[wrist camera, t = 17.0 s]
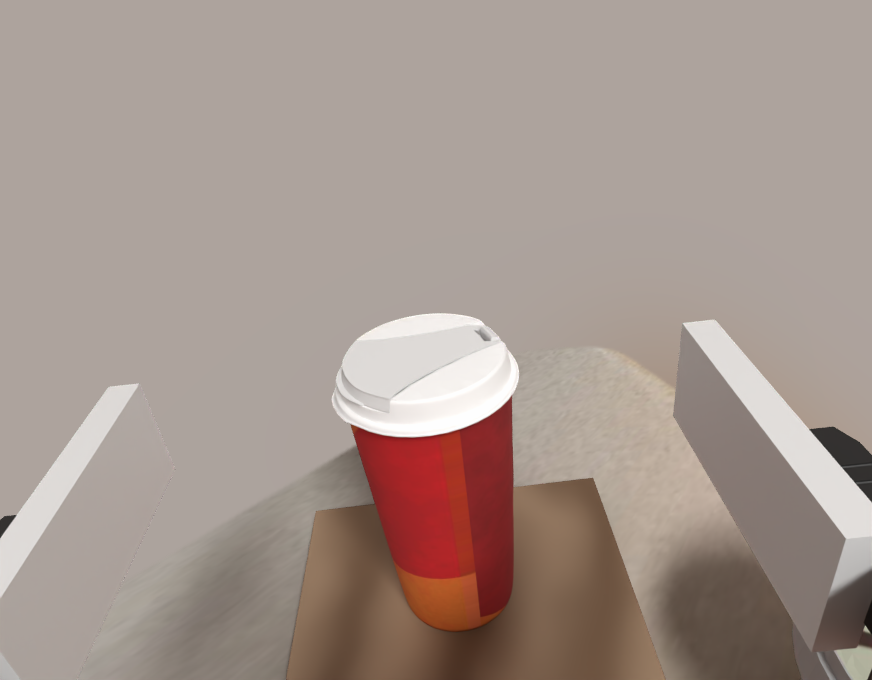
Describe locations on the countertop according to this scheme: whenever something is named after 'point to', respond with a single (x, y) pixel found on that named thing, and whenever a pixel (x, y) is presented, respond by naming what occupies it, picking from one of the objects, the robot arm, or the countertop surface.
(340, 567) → the walnut board
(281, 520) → the countertop surface
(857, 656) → the food container
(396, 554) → the coffee cup
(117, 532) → the robot arm
